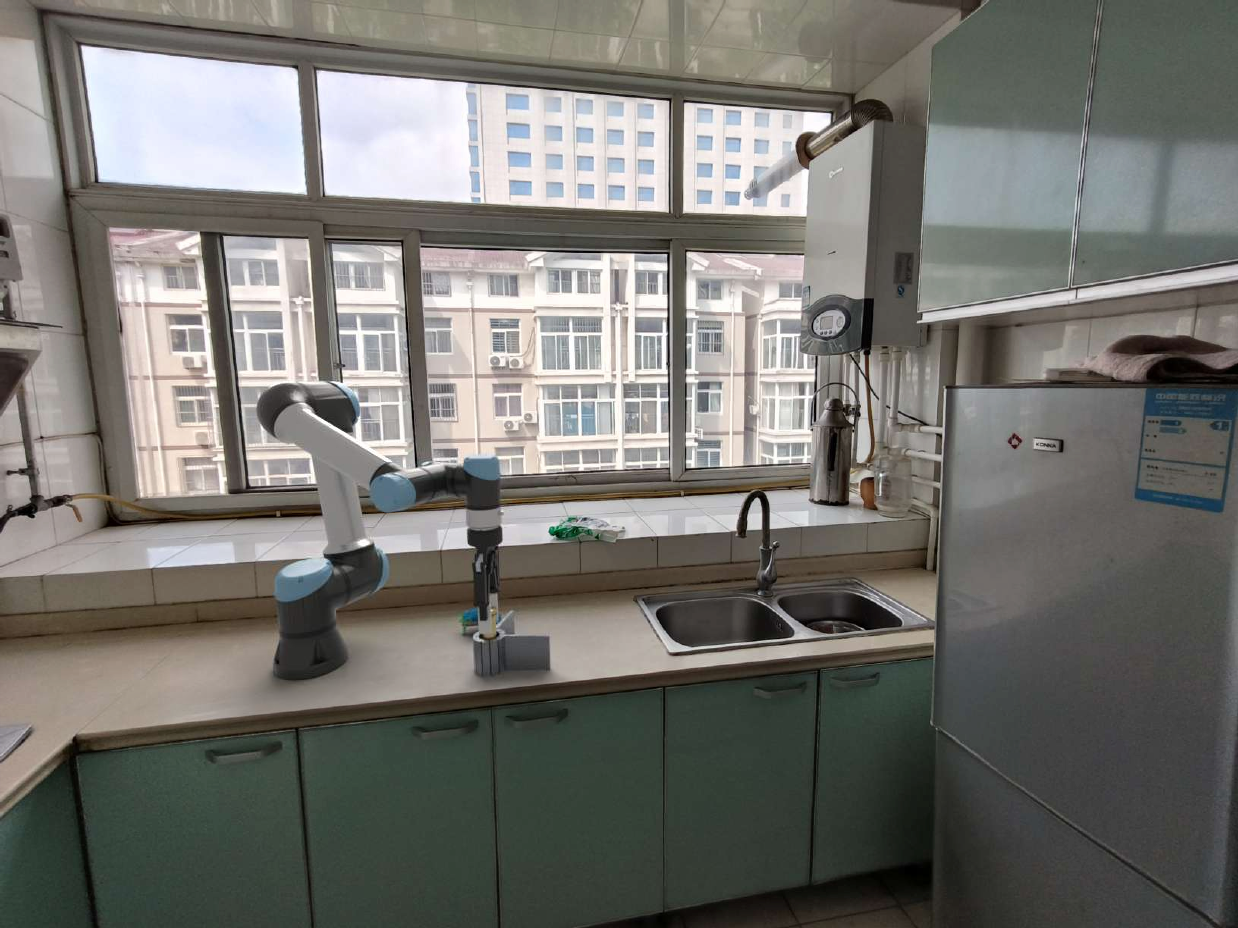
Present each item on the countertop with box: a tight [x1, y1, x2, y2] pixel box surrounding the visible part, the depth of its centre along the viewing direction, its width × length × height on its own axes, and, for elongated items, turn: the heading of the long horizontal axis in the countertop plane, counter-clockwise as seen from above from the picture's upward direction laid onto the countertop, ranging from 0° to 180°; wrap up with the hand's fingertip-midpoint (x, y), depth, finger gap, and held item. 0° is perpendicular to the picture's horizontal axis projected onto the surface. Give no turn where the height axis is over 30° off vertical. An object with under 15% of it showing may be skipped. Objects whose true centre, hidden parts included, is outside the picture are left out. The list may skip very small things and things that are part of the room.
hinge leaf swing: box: [496, 610, 516, 634], centre depth 138 cm, size 10×1×8 cm, turn 169°
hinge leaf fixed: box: [472, 629, 551, 678], centre depth 129 cm, size 17×7×8 cm, turn 89°
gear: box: [458, 608, 503, 636], centre depth 147 cm, size 11×6×10 cm
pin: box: [483, 606, 497, 640], centre depth 129 cm, size 4×4×14 cm
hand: (488, 626), depth 128 cm, fingers open, 5 cm apart
